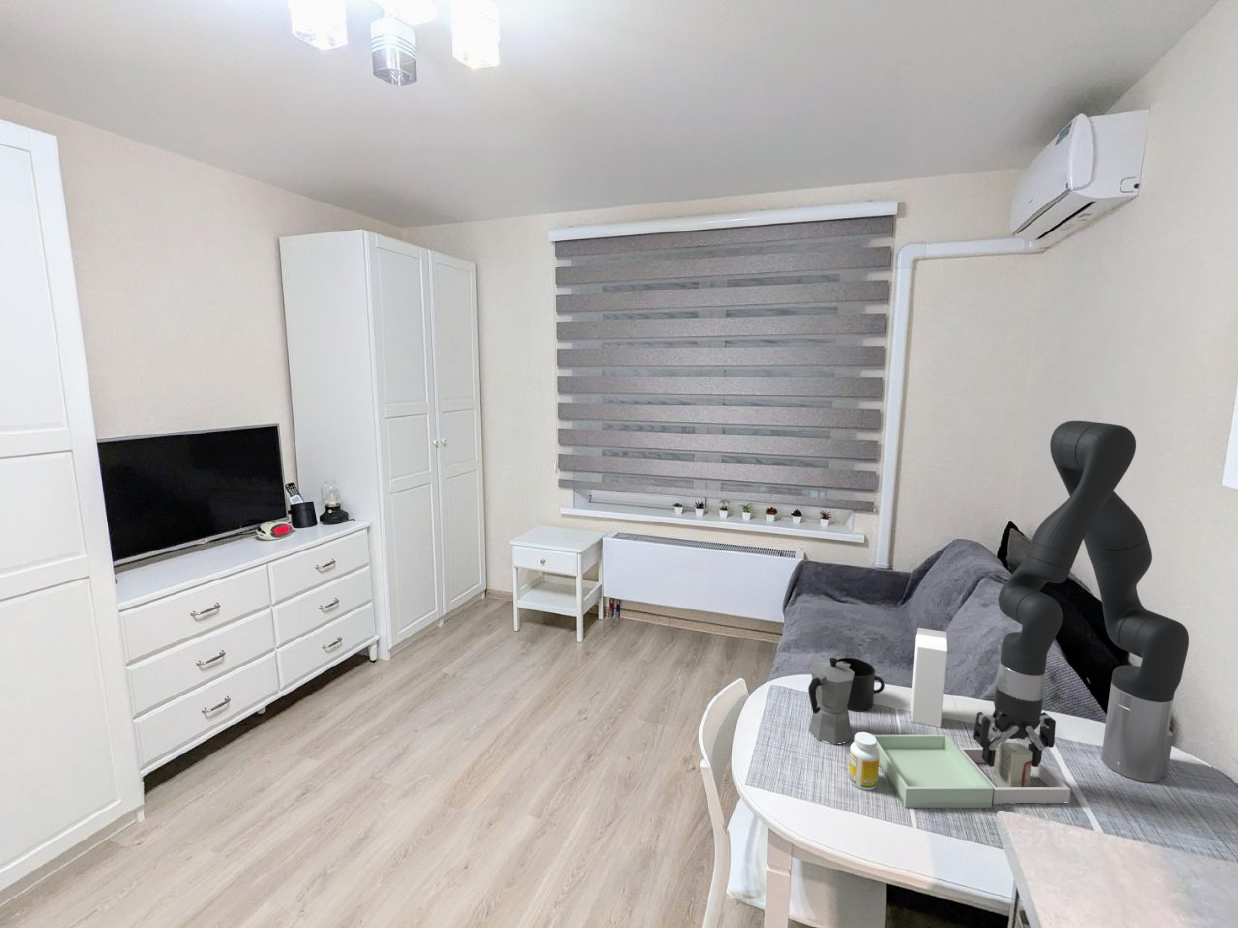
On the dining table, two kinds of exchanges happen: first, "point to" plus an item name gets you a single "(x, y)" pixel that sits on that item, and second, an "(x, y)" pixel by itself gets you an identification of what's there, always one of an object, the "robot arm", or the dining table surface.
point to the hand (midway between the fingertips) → (1010, 763)
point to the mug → (862, 684)
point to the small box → (1012, 764)
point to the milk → (928, 677)
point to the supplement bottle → (864, 761)
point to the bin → (931, 772)
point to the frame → (1013, 795)
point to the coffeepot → (830, 700)
